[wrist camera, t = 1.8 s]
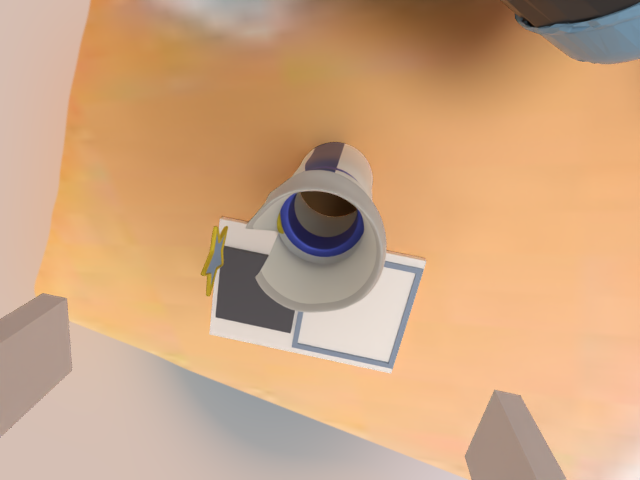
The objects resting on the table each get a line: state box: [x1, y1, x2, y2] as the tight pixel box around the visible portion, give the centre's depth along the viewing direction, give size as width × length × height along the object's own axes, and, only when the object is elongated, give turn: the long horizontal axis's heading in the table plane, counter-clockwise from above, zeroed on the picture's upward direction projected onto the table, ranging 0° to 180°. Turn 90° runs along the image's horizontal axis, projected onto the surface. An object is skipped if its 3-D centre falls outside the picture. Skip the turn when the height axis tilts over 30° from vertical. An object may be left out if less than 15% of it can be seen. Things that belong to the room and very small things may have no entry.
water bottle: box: [201, 142, 386, 313], centre depth 27 cm, size 8×8×25 cm
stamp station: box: [210, 216, 426, 373], centre depth 42 cm, size 15×22×1 cm
